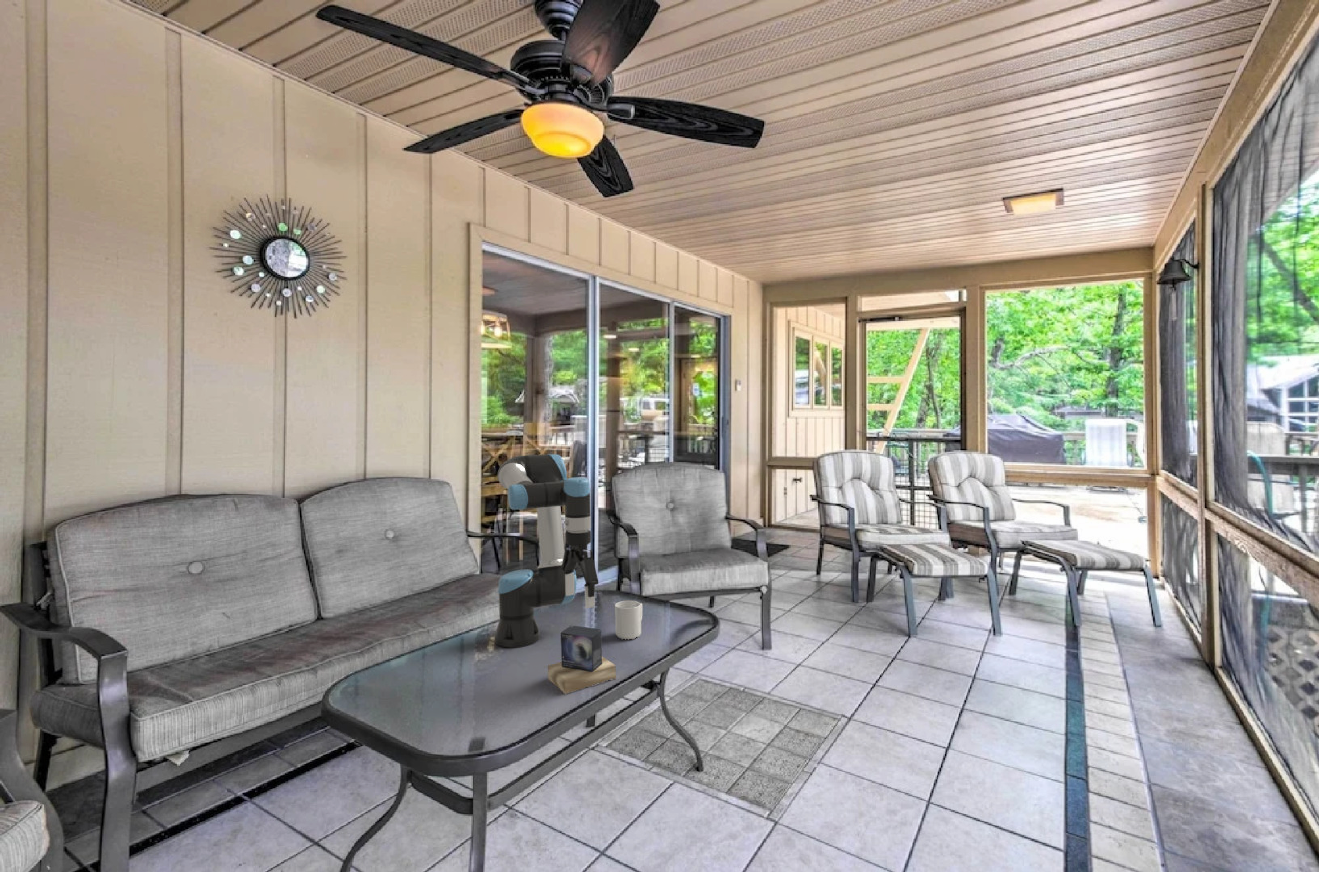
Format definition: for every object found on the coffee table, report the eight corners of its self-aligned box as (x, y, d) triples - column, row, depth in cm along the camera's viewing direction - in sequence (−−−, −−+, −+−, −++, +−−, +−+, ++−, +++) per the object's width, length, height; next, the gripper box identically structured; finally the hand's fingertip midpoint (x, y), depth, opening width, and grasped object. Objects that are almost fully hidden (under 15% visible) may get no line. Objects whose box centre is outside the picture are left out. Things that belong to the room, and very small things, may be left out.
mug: (630, 642, 204) (629, 610, 204) (610, 637, 209) (609, 605, 209) (651, 631, 214) (650, 600, 213) (631, 627, 219) (631, 596, 218)
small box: (560, 667, 175) (559, 632, 175) (571, 659, 181) (570, 624, 181) (592, 672, 171) (591, 636, 171) (603, 663, 177) (602, 628, 177)
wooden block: (548, 679, 177) (547, 665, 177) (596, 665, 186) (596, 652, 186) (565, 694, 167) (565, 679, 167) (615, 679, 176) (615, 665, 176)
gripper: (549, 525, 187) (551, 592, 188) (585, 539, 166) (586, 615, 167) (571, 522, 191) (573, 588, 192) (609, 536, 170) (610, 610, 171)
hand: (579, 601), depth 180 cm, fingers open, 13 cm apart
